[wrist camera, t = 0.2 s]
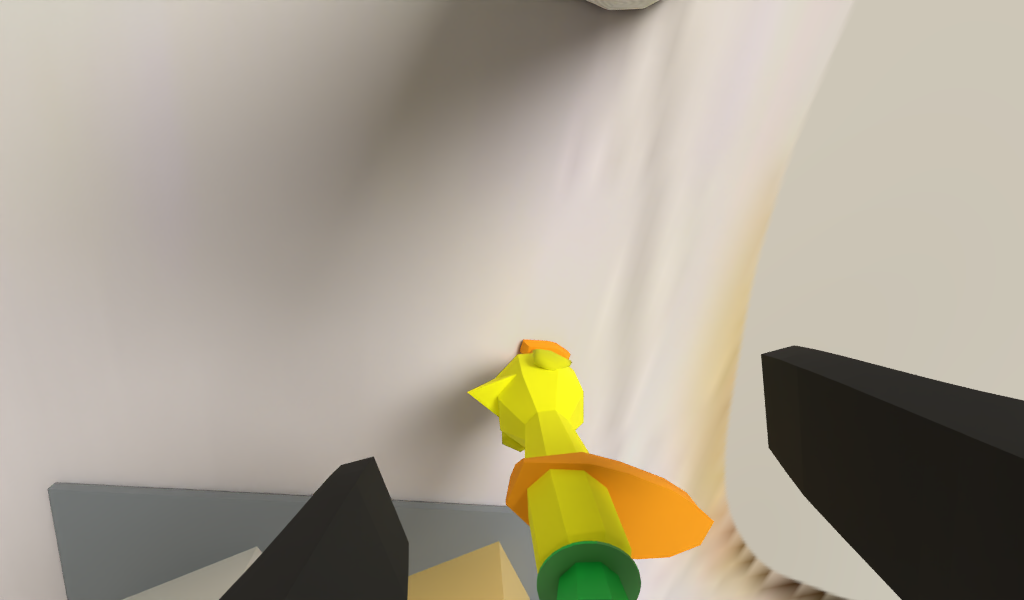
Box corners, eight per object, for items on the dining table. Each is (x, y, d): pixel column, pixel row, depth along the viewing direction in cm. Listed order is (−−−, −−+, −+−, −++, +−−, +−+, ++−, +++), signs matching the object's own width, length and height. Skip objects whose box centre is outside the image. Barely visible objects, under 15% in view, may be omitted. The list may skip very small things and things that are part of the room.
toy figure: (632, 347, 21) (835, 607, 9) (599, 417, 22) (747, 731, 10) (480, 300, 19) (501, 536, 8) (452, 377, 20) (437, 684, 9)
